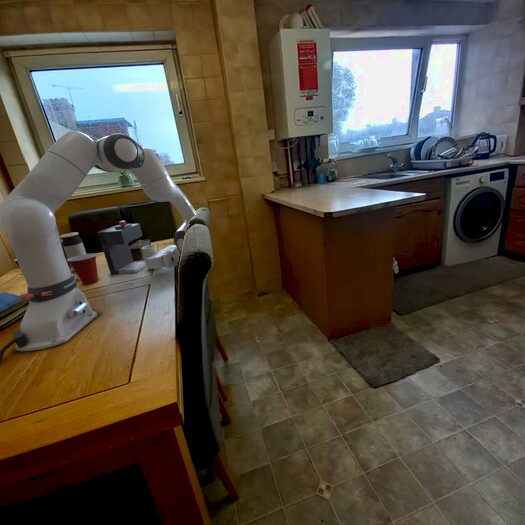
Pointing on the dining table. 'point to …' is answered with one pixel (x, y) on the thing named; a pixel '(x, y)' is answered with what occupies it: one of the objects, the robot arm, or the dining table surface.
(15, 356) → the dining table surface
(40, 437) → the dining table surface
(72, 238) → the travel mug
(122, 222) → the brew button
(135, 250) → the beverage carton
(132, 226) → the coffee maker
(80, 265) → the plastic cup
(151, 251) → the creamer cup
